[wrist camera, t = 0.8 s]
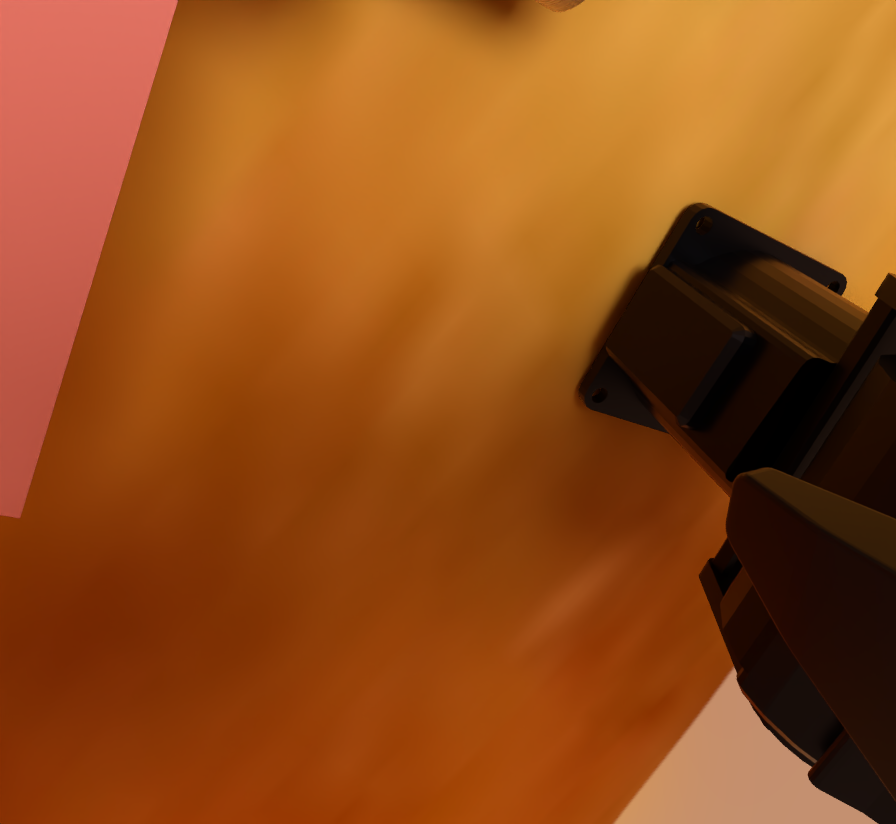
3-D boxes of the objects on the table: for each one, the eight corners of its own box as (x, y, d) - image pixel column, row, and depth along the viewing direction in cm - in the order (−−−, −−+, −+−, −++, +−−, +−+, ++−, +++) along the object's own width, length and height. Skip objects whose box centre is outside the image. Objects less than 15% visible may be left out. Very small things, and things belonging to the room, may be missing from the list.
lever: (68, -816, 7) (48, -991, 6) (382, -535, 9) (429, -615, 7) (-158, 413, 12) (-198, 484, 11) (64, 457, 14) (55, 524, 12)
